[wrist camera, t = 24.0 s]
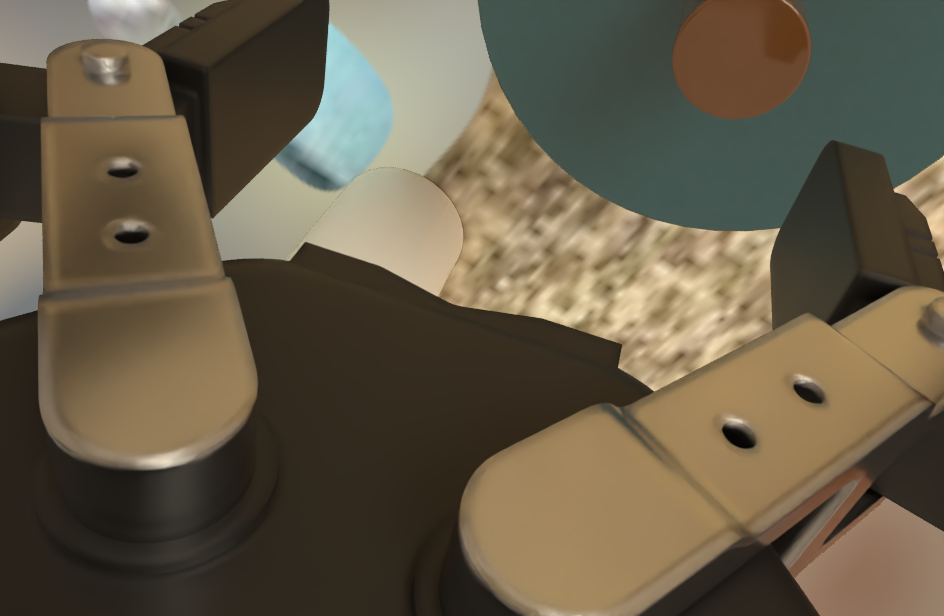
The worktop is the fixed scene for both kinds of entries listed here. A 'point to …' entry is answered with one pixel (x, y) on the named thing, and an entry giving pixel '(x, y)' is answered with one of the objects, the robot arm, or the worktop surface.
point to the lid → (719, 95)
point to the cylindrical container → (394, 226)
